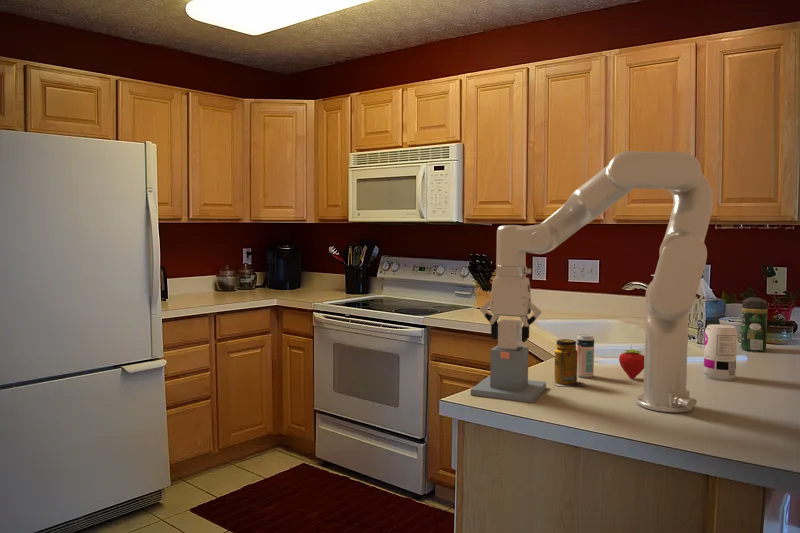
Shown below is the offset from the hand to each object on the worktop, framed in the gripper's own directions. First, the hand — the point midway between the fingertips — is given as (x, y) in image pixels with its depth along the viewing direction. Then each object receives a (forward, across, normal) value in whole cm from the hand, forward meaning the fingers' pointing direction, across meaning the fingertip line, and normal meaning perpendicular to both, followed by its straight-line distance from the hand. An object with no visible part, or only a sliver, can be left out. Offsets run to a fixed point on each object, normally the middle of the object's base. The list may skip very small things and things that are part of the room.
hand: (509, 339), depth 161 cm
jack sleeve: (+14, 0, 0) cm, 14 cm away
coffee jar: (+14, -64, -92) cm, 113 cm away
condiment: (+14, -13, -16) cm, 25 cm away
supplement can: (+14, -51, -41) cm, 67 cm away
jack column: (+12, 0, 0) cm, 12 cm away
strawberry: (+14, -28, -28) cm, 42 cm away
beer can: (+14, -16, -26) cm, 33 cm away
